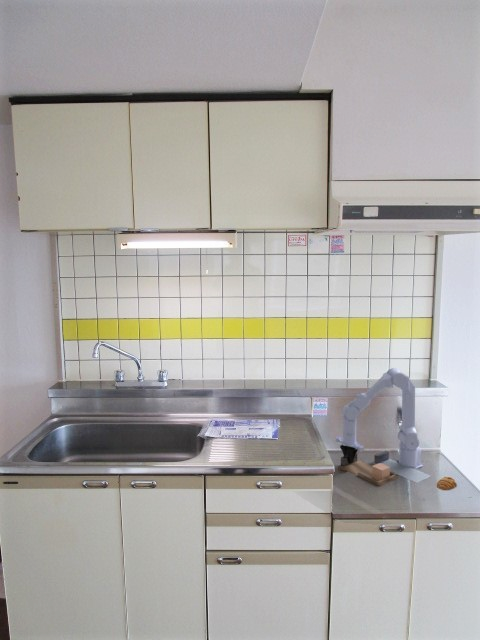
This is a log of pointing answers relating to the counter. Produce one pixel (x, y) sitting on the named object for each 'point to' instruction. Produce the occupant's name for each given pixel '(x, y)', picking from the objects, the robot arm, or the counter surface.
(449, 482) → the pastry
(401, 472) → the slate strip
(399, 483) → the counter surface
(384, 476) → the terracotta block
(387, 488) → the counter surface
